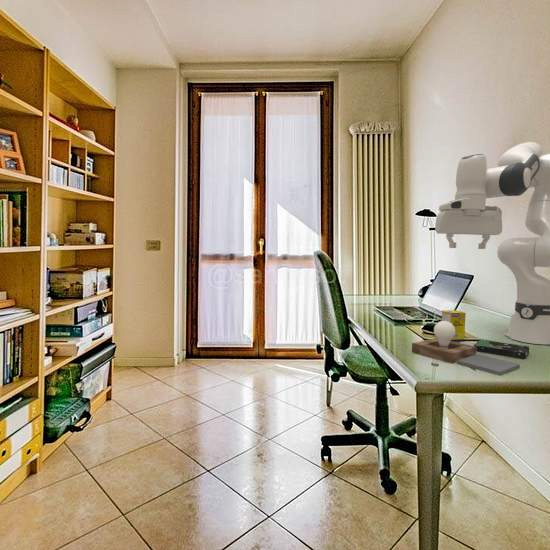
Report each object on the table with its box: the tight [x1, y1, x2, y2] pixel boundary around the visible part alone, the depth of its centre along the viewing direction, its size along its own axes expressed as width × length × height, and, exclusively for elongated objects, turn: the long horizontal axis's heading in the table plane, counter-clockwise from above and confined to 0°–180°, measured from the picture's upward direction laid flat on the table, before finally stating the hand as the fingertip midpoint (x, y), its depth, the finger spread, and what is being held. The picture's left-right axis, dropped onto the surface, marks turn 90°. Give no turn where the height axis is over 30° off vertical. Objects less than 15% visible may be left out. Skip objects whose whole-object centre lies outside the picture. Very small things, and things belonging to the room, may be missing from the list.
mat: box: [456, 353, 521, 376], centre depth 107 cm, size 12×12×1 cm
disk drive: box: [473, 338, 530, 360], centre depth 122 cm, size 10×3×15 cm
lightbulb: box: [433, 320, 455, 349], centre depth 118 cm, size 6×6×11 cm
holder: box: [411, 337, 477, 364], centre depth 119 cm, size 14×14×3 cm
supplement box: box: [441, 309, 467, 342], centre depth 138 cm, size 6×6×11 cm
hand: (467, 248), depth 117 cm, fingers open, 8 cm apart
